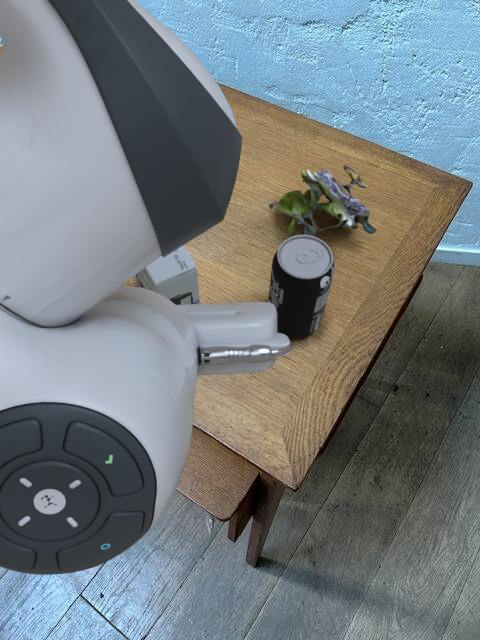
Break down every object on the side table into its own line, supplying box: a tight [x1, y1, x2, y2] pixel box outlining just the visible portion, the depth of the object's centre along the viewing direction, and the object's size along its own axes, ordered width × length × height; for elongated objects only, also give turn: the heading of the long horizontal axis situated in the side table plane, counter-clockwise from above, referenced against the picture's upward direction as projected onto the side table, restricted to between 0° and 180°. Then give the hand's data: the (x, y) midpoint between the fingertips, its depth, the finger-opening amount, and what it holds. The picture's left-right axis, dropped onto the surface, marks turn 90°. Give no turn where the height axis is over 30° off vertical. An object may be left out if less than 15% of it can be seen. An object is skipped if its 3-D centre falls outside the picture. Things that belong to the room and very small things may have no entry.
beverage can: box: [267, 234, 335, 340], centre depth 62 cm, size 7×7×12 cm
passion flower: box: [268, 164, 377, 239], centre depth 71 cm, size 11×11×12 cm
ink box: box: [134, 245, 201, 305], centre depth 62 cm, size 9×5×12 cm, turn 28°
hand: (150, 315), depth 47 cm, fingers open, 8 cm apart
